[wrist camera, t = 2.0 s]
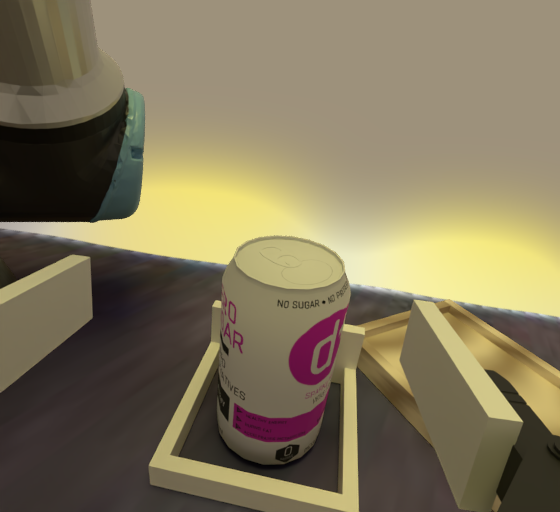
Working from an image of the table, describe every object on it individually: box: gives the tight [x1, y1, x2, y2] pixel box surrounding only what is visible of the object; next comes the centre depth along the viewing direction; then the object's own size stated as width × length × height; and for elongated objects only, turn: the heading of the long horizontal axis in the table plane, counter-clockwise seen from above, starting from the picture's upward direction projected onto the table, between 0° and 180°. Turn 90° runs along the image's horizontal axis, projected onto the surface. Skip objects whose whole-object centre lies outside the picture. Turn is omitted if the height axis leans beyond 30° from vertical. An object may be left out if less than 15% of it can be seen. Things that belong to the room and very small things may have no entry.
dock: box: [149, 300, 365, 512], centre depth 29 cm, size 14×14×6 cm
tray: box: [357, 299, 560, 512], centre depth 36 cm, size 18×16×2 cm
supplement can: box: [217, 236, 351, 465], centre depth 27 cm, size 8×8×15 cm
